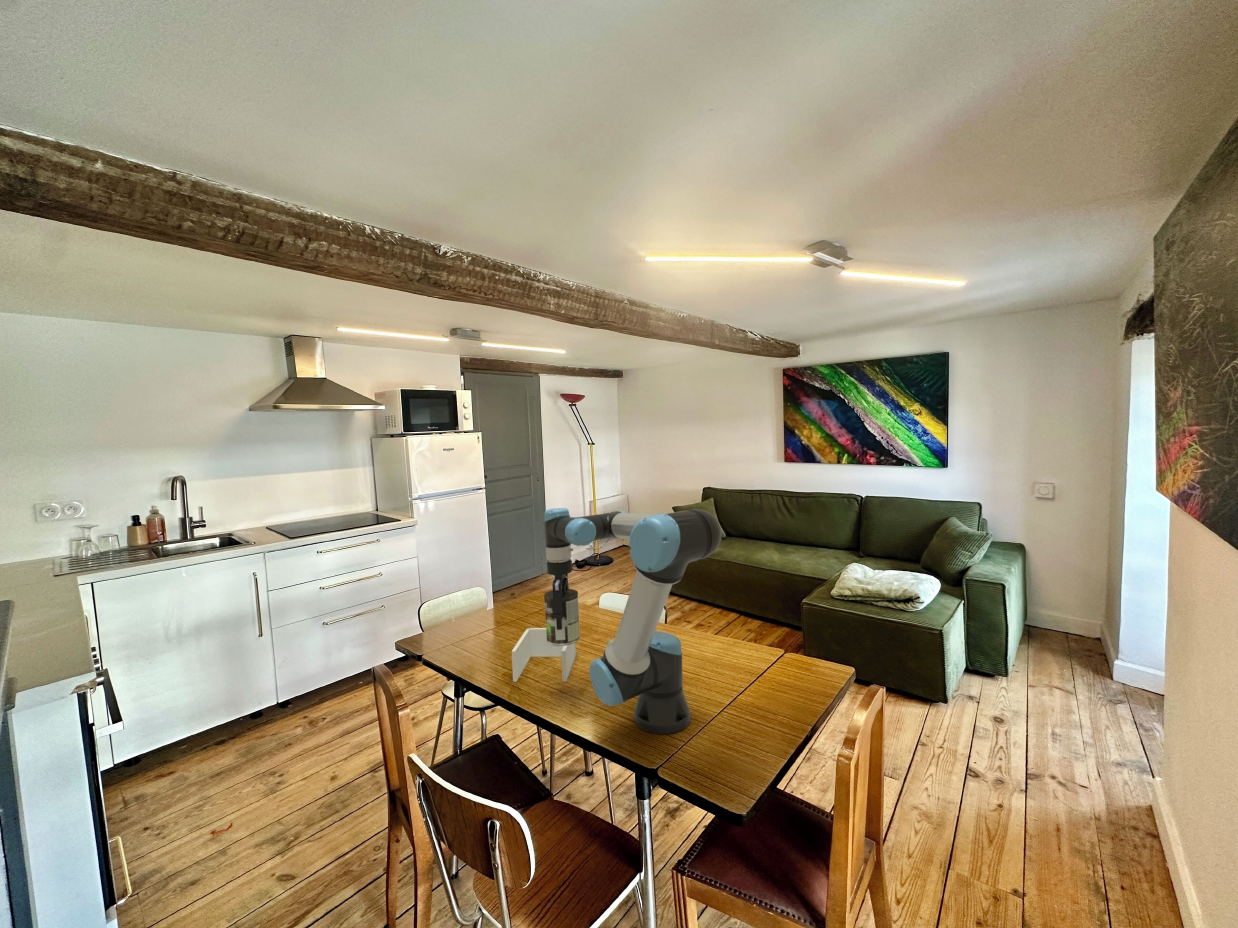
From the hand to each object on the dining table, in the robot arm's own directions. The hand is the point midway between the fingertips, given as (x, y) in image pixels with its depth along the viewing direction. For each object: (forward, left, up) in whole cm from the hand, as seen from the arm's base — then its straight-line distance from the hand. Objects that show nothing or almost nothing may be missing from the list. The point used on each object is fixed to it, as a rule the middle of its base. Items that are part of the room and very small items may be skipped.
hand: (563, 632), depth 147 cm
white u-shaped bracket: (+16, +10, -19) cm, 27 cm away
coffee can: (0, 0, -2) cm, 2 cm away
